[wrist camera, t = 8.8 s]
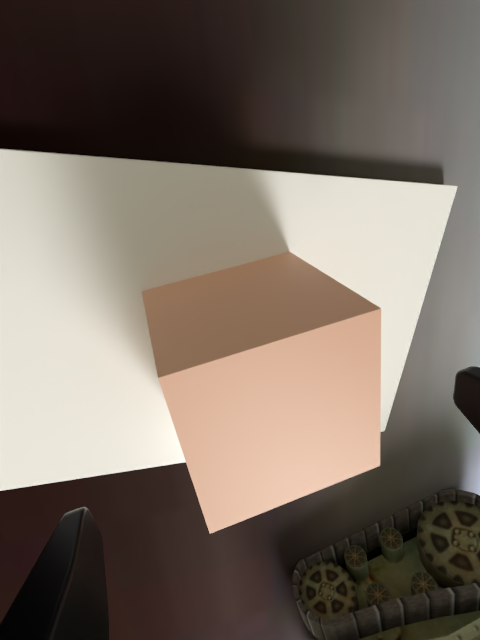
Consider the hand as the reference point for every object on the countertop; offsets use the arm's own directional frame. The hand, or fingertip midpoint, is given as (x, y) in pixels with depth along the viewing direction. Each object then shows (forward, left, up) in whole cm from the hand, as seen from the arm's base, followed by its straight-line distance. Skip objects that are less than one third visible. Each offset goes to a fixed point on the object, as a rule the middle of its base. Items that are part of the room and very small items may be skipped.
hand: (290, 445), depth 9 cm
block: (0, 0, -6) cm, 6 cm away
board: (0, 0, -6) cm, 6 cm away
